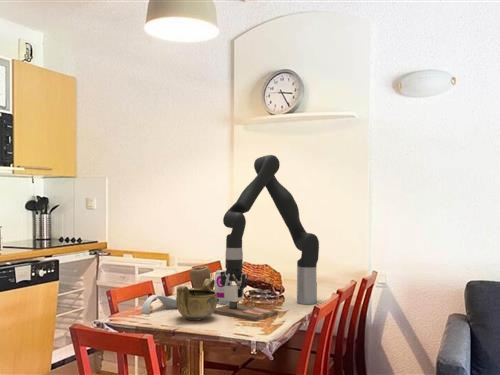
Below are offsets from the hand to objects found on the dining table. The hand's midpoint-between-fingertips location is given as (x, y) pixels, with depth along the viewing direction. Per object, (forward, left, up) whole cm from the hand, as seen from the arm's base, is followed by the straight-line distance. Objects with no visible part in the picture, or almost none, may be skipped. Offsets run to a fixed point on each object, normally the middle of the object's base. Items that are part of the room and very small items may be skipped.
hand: (233, 296), depth 229 cm
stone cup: (-18, -34, -7) cm, 39 cm away
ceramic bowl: (+20, -3, -7) cm, 21 cm away
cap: (0, 0, -2) cm, 2 cm away
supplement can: (-12, -16, -7) cm, 21 cm away
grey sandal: (+16, -27, -7) cm, 32 cm away
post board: (0, +6, -7) cm, 9 cm away
